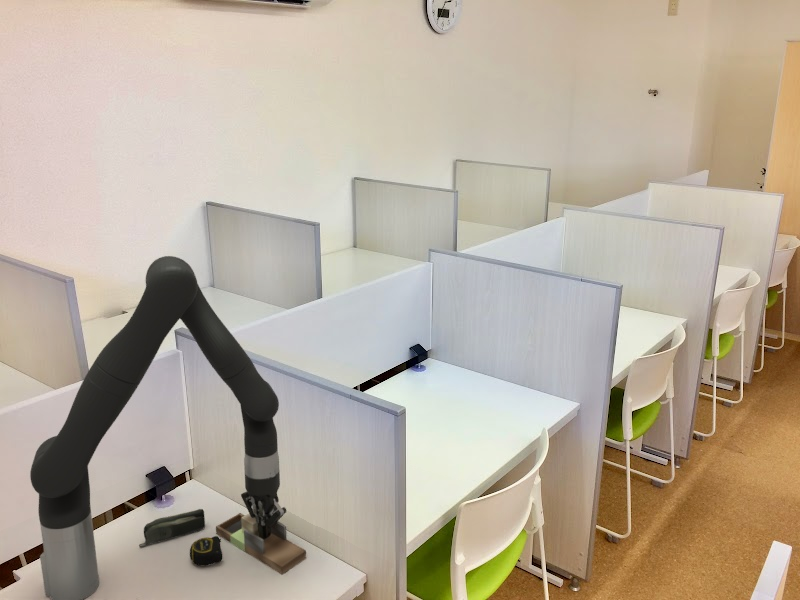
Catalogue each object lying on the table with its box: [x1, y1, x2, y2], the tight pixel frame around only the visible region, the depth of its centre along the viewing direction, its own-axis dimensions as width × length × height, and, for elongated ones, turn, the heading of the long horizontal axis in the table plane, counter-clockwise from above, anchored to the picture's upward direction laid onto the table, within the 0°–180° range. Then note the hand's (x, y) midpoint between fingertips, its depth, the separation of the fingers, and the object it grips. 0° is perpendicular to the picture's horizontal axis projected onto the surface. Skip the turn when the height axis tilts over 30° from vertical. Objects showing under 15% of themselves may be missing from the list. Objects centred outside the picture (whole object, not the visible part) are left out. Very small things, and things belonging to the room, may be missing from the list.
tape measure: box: [189, 535, 223, 567], centre depth 150 cm, size 7×7×4 cm
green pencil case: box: [138, 508, 206, 548], centre depth 157 cm, size 5×3×15 cm
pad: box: [230, 529, 245, 552], centre depth 157 cm, size 5×7×2 cm
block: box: [241, 513, 259, 537], centre depth 156 cm, size 4×4×4 cm
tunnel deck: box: [215, 512, 307, 575], centre depth 155 cm, size 22×7×6 cm, turn 52°
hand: (264, 536), depth 154 cm, fingers closed
